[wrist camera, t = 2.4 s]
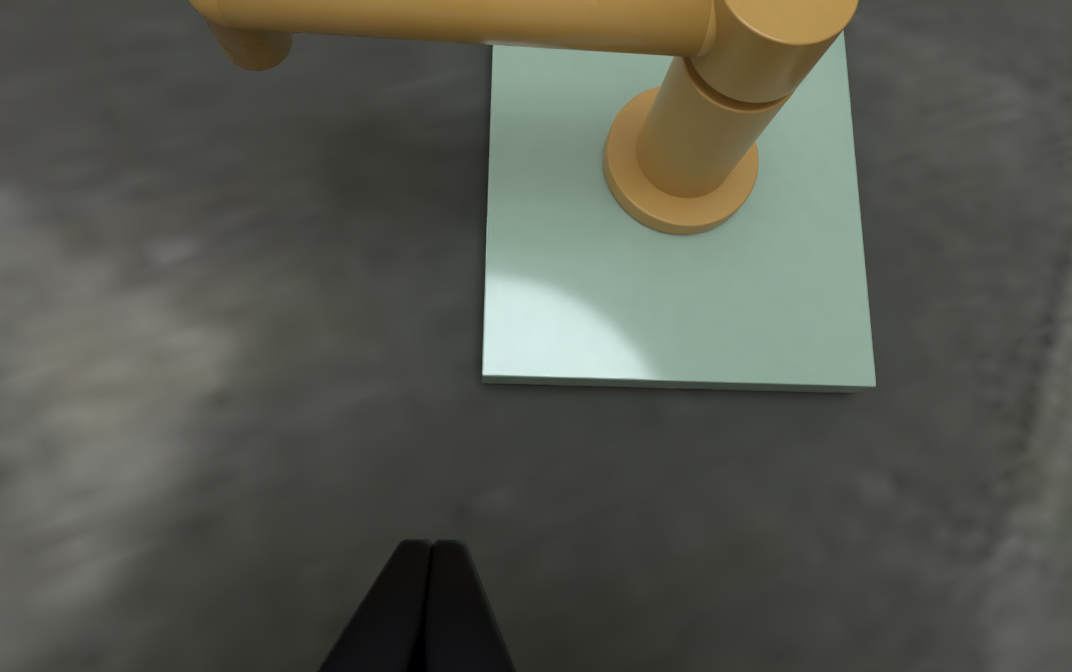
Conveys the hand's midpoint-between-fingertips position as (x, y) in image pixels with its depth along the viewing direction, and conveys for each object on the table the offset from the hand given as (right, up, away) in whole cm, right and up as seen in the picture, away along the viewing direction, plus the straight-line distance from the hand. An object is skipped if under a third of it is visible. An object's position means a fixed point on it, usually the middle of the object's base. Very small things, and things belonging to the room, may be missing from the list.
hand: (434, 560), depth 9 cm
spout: (+1, +10, +8) cm, 12 cm away
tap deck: (+6, +8, +14) cm, 18 cm away
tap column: (+6, +8, +13) cm, 17 cm away
